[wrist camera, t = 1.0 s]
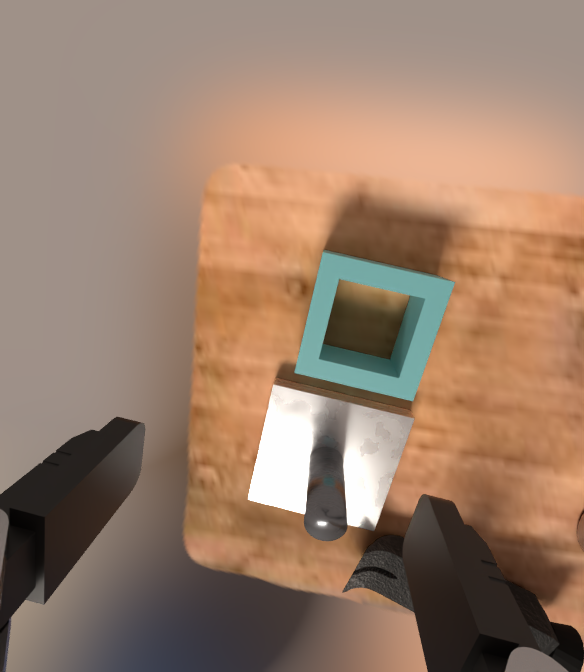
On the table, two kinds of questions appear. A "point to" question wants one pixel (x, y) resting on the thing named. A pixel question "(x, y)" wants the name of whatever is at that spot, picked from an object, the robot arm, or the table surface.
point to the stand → (328, 457)
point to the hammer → (552, 638)
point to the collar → (412, 338)
